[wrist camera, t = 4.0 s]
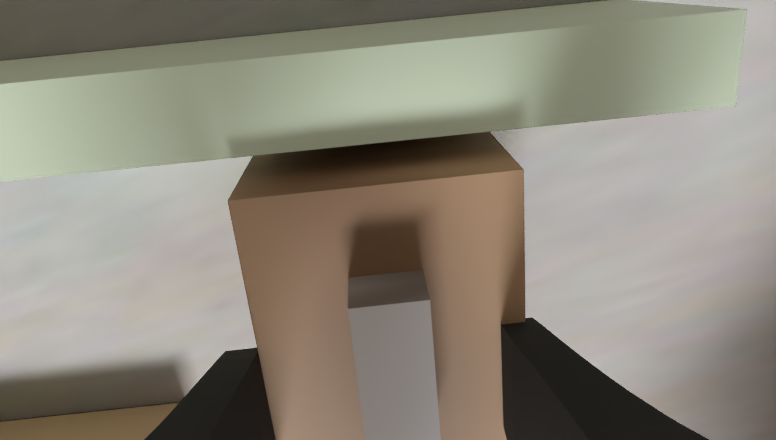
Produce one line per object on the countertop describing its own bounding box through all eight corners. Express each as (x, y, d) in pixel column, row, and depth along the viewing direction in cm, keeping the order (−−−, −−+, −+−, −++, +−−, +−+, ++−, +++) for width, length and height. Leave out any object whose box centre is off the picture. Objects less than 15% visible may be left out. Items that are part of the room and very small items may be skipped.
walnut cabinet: (459, 98, 15) (543, 190, 8) (469, 313, 17) (542, 518, 11) (274, 117, 15) (213, 225, 8) (309, 331, 17) (282, 548, 10)
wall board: (617, -1, 14) (746, 8, 9) (600, 392, 18) (684, 536, 13) (-284, 89, 14) (-610, 144, 9) (-97, 468, 18) (-256, 640, 13)
